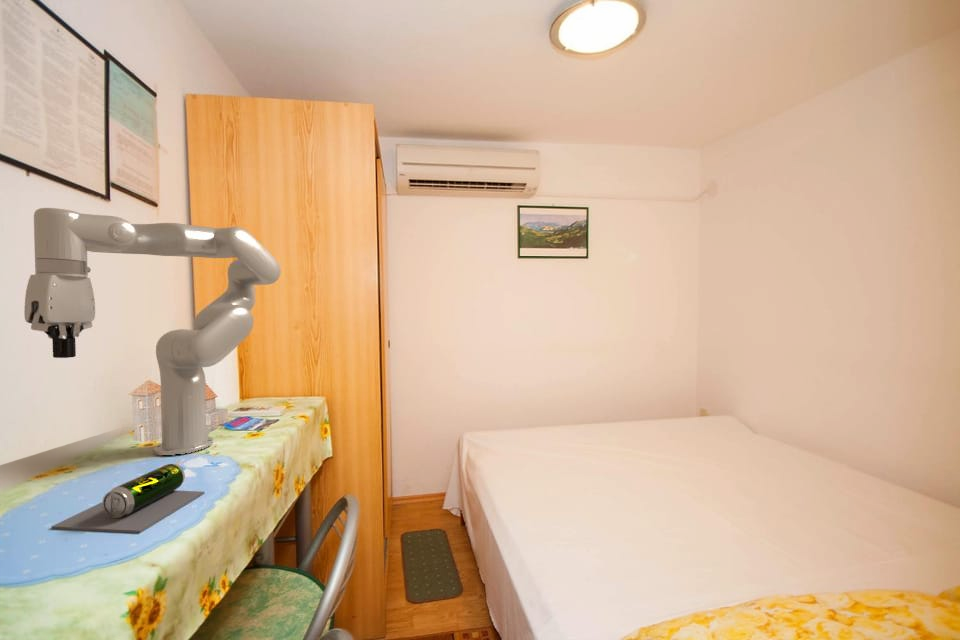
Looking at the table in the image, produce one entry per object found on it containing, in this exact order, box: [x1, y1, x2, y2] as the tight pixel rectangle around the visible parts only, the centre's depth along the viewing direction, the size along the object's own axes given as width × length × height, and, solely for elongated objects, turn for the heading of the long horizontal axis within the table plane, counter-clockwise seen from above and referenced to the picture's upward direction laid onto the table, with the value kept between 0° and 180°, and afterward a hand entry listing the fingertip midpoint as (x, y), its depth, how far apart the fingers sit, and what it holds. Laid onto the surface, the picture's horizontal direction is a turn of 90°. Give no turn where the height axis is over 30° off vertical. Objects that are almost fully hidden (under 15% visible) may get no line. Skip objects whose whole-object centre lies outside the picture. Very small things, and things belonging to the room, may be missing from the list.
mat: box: [51, 489, 205, 534], centre depth 73 cm, size 14×16×1 cm
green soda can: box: [101, 463, 186, 518], centre depth 75 cm, size 5×5×12 cm
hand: (64, 357), depth 83 cm, fingers closed
